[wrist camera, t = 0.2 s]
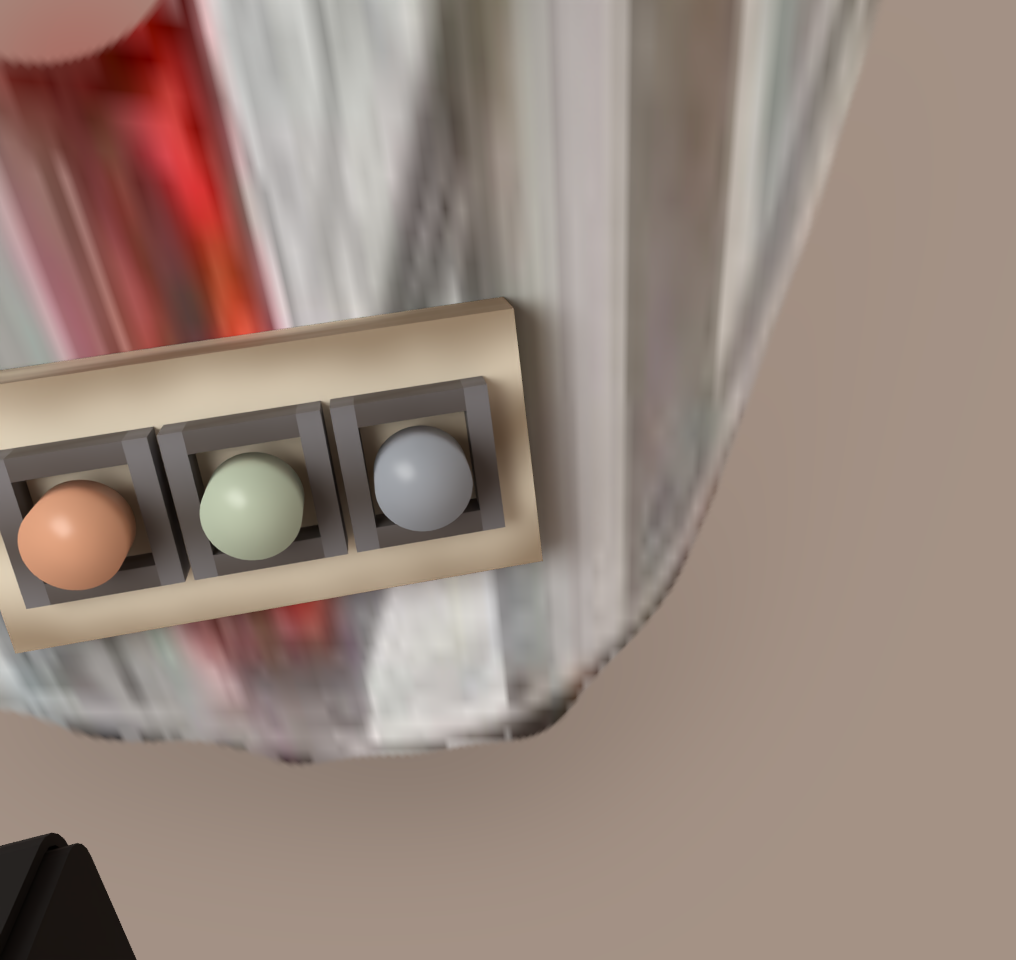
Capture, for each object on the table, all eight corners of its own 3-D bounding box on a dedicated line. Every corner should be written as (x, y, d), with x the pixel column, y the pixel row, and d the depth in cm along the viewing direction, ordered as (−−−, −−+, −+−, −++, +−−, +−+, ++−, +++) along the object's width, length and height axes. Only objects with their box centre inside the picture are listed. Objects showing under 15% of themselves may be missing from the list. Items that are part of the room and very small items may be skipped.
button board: (-47, 377, 41) (-91, 405, 37) (503, 296, 44) (519, 314, 39) (35, 621, 45) (4, 671, 41) (531, 535, 48) (548, 574, 44)
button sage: (196, 460, 39) (189, 476, 38) (294, 445, 40) (291, 460, 38) (218, 548, 41) (212, 567, 39) (312, 532, 41) (310, 551, 39)
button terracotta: (20, 488, 39) (4, 506, 37) (122, 472, 39) (110, 489, 37) (49, 576, 40) (34, 598, 38) (146, 559, 41) (136, 580, 39)
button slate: (366, 433, 40) (367, 448, 38) (460, 418, 41) (465, 432, 39) (381, 520, 42) (383, 538, 40) (472, 505, 42) (478, 522, 40)
